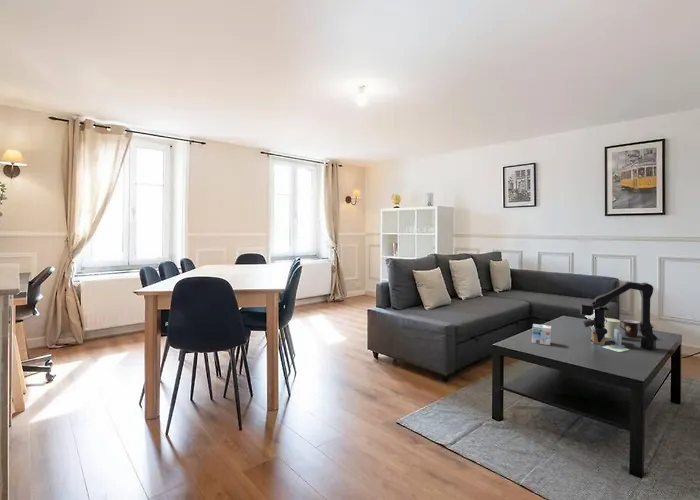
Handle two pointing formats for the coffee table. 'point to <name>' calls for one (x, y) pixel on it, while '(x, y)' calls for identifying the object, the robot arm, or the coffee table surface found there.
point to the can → (612, 327)
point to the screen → (617, 338)
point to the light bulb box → (541, 334)
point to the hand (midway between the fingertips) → (598, 340)
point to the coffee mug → (630, 328)
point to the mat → (615, 348)
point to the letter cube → (595, 339)
